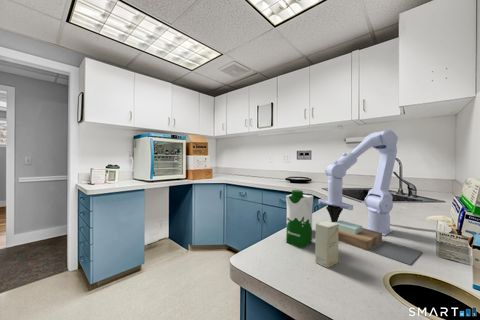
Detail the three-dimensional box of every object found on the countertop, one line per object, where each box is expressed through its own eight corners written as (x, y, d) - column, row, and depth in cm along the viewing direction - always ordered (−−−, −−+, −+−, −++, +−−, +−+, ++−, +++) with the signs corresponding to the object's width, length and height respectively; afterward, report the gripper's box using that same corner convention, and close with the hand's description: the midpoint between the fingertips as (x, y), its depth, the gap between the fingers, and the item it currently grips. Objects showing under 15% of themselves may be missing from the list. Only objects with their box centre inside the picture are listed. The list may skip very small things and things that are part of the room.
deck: (341, 228, 92) (341, 222, 92) (381, 240, 79) (382, 233, 79) (324, 235, 84) (324, 228, 84) (366, 250, 71) (366, 241, 71)
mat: (384, 241, 79) (384, 240, 79) (422, 252, 70) (422, 251, 70) (369, 251, 70) (369, 250, 70) (410, 265, 61) (410, 264, 61)
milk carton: (282, 242, 77) (283, 190, 76) (294, 236, 83) (295, 187, 83) (304, 250, 71) (305, 193, 70) (315, 242, 77) (316, 190, 77)
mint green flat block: (340, 224, 89) (340, 220, 89) (362, 230, 81) (362, 226, 81) (332, 227, 85) (332, 222, 85) (355, 234, 78) (355, 229, 78)
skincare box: (327, 268, 59) (328, 227, 59) (314, 262, 63) (315, 223, 63) (338, 262, 63) (339, 223, 63) (325, 256, 67) (326, 219, 66)
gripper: (314, 190, 91) (314, 220, 91) (347, 195, 79) (346, 230, 79) (323, 189, 95) (322, 217, 95) (355, 193, 83) (355, 226, 84)
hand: (334, 223), depth 88 cm, fingers closed
